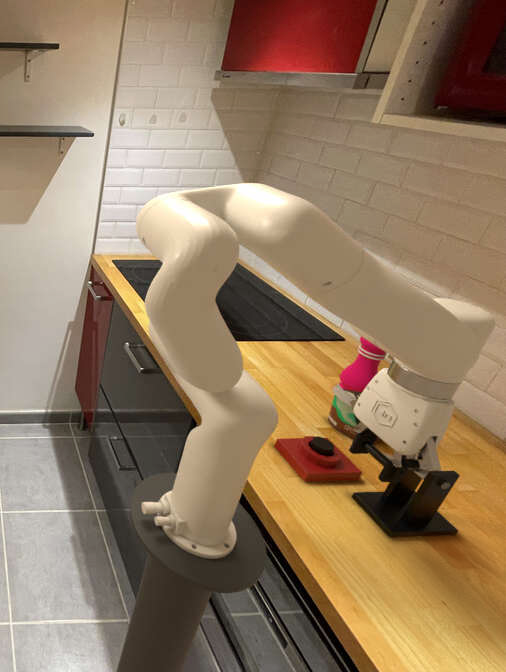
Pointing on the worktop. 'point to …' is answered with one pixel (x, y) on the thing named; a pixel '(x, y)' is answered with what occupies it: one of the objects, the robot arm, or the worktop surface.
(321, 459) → the block
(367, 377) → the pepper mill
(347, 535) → the worktop surface
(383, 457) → the lever
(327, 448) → the stop button
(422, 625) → the worktop surface
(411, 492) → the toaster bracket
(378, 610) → the worktop surface
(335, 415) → the food container
